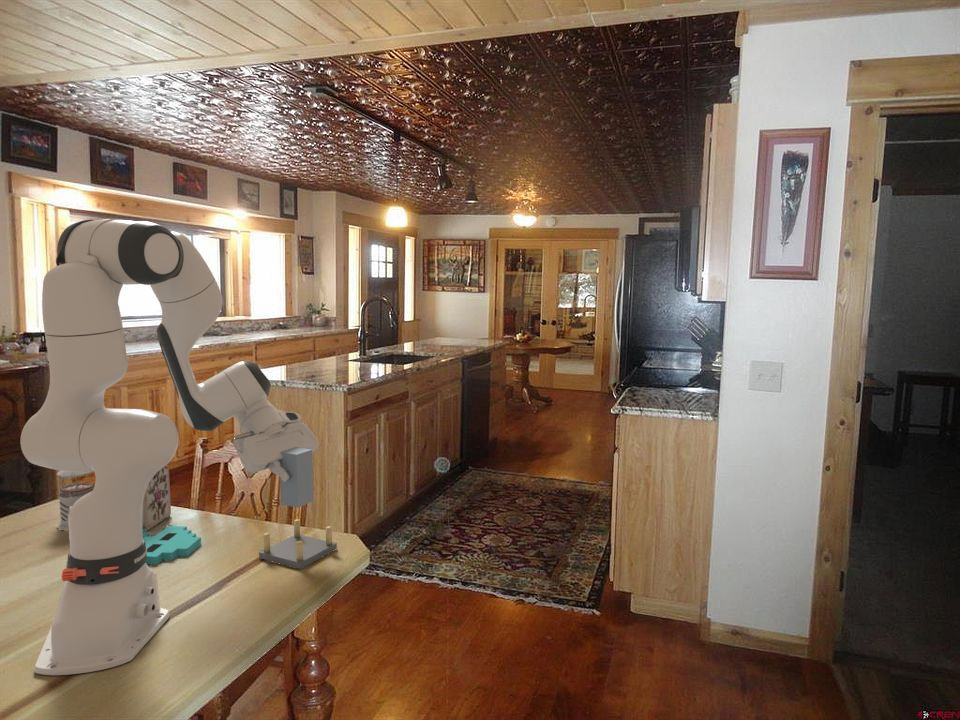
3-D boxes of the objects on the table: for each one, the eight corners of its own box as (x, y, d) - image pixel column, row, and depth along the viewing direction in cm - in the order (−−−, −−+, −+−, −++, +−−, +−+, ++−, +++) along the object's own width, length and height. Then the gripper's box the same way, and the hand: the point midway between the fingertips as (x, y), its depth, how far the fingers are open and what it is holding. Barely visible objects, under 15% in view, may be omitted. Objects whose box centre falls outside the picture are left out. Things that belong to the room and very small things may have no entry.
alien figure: (80, 569, 134) (172, 571, 134) (79, 559, 134) (171, 561, 134) (133, 534, 154) (213, 535, 154) (133, 525, 154) (213, 526, 153)
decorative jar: (147, 532, 154) (143, 461, 152) (101, 531, 155) (97, 460, 153) (172, 515, 166) (169, 448, 164) (129, 514, 167) (126, 448, 165)
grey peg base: (336, 549, 145) (336, 526, 144) (300, 569, 134) (299, 544, 133) (297, 540, 150) (296, 517, 149) (259, 558, 139) (258, 534, 139)
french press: (67, 534, 153) (60, 433, 150) (45, 524, 159) (38, 427, 156) (109, 522, 161) (103, 426, 158) (86, 513, 167) (81, 421, 164)
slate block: (298, 507, 137) (296, 454, 136) (280, 504, 140) (279, 451, 138) (313, 501, 142) (312, 449, 141) (296, 497, 144) (295, 446, 143)
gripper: (235, 428, 133) (271, 479, 129) (303, 412, 151) (335, 456, 148) (221, 446, 135) (256, 497, 132) (289, 428, 153) (321, 472, 150)
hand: (298, 475), depth 140 cm, fingers closed on slate block, 5 cm apart
